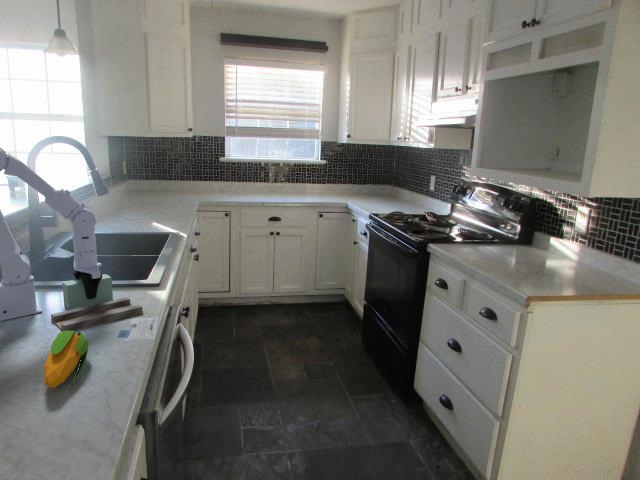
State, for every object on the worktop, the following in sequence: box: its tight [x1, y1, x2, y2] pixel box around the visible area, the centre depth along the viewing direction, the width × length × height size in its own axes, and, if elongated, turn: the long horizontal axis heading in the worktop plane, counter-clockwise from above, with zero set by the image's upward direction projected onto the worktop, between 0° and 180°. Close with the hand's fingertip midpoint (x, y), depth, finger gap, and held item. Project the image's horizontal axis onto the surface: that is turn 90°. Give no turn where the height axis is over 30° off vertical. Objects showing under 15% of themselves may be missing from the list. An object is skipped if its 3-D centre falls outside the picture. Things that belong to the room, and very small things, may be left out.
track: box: [50, 297, 144, 332], centre depth 124 cm, size 20×10×2 cm, turn 136°
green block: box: [61, 273, 114, 310], centre depth 133 cm, size 12×4×7 cm, turn 136°
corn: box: [43, 330, 90, 389], centre depth 95 cm, size 7×8×20 cm
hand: (88, 296), depth 134 cm, fingers closed on green block, 4 cm apart
